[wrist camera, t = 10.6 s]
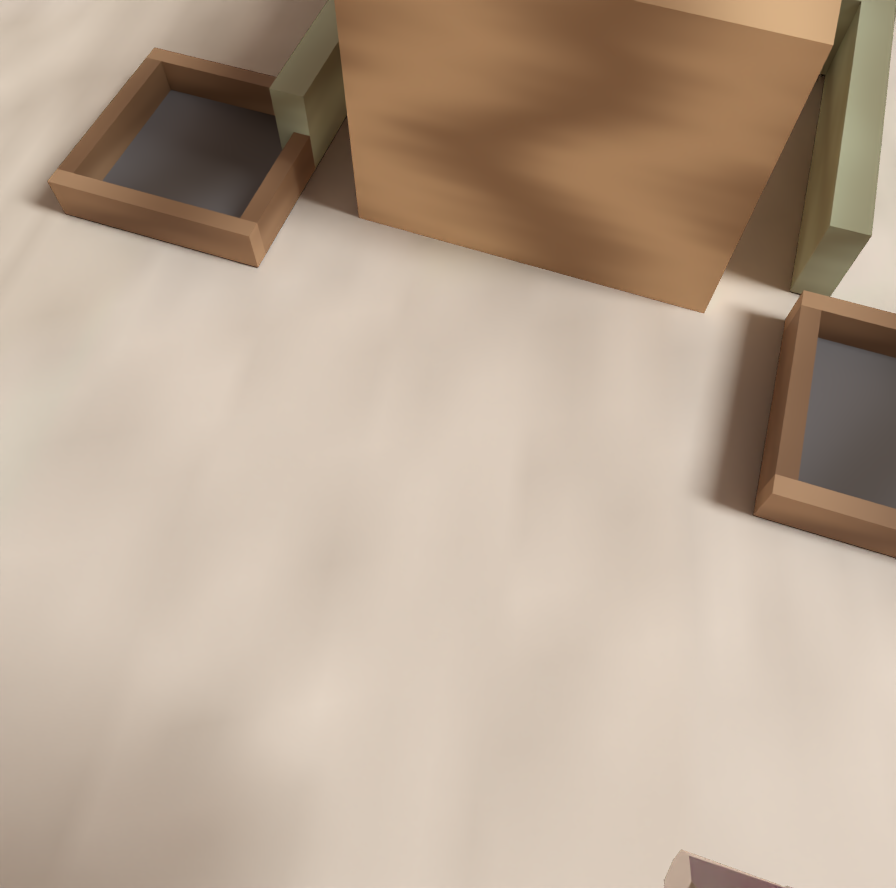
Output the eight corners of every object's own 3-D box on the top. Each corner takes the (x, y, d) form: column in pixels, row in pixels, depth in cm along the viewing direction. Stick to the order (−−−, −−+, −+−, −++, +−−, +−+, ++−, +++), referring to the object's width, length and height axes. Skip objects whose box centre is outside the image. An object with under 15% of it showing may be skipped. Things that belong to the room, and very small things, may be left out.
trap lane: (5, 291, 21) (-45, 224, 19) (276, -63, 29) (264, -139, 27) (1023, 595, 18) (1106, 556, 16) (1017, 96, 26) (1071, 23, 23)
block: (359, 220, 23) (326, -69, 16) (470, 17, 27) (482, -277, 20) (702, 316, 22) (833, 45, 14) (759, 85, 26) (880, -207, 19)
